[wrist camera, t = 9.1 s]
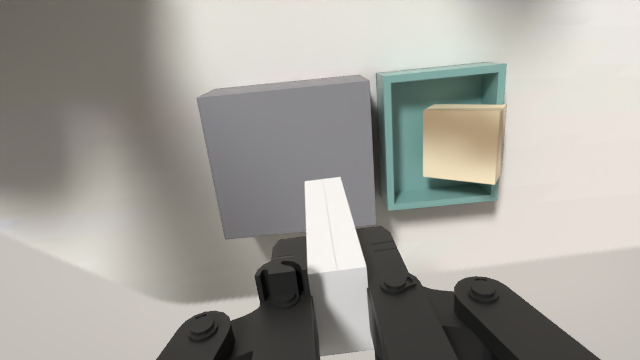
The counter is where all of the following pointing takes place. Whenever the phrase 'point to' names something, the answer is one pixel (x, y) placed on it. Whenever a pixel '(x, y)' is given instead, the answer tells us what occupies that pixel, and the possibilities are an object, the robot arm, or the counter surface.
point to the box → (407, 130)
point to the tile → (464, 142)
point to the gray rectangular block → (288, 151)
